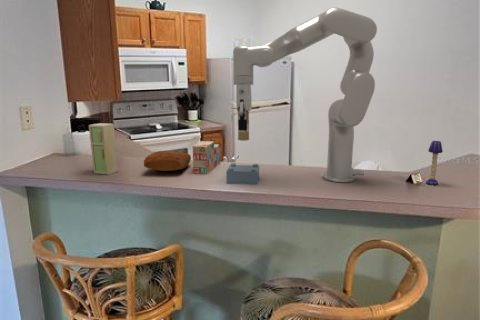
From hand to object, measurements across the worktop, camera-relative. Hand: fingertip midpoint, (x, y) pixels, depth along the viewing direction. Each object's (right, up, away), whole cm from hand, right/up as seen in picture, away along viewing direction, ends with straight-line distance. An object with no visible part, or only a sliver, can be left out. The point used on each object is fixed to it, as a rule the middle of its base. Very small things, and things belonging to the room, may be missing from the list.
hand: (243, 128), depth 135 cm
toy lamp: (+72, -22, -1) cm, 75 cm away
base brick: (0, -20, +5) cm, 21 cm away
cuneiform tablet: (-33, -17, +21) cm, 42 cm away
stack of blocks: (-16, -16, +25) cm, 33 cm away
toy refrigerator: (-60, -18, +17) cm, 65 cm away
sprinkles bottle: (0, -4, +1) cm, 5 cm away
